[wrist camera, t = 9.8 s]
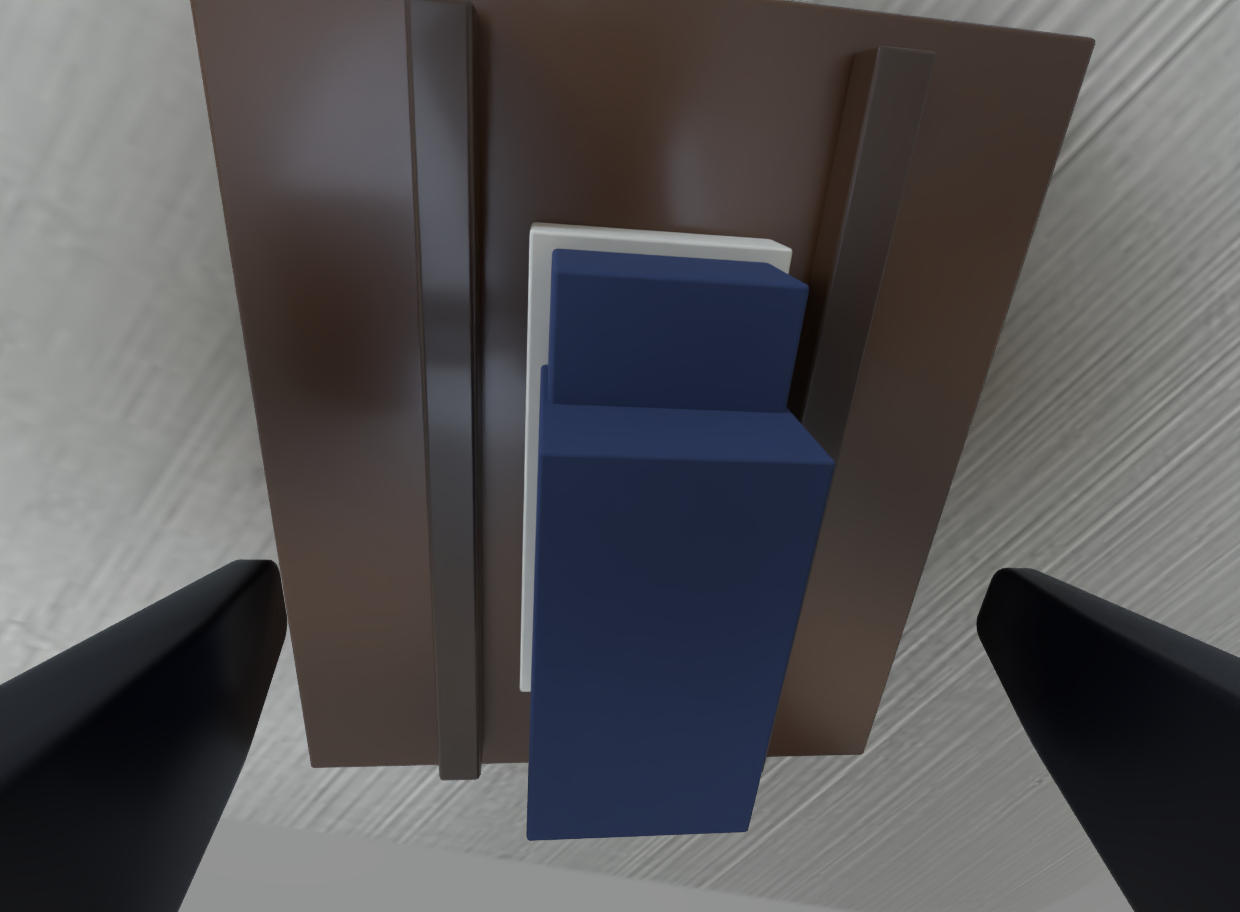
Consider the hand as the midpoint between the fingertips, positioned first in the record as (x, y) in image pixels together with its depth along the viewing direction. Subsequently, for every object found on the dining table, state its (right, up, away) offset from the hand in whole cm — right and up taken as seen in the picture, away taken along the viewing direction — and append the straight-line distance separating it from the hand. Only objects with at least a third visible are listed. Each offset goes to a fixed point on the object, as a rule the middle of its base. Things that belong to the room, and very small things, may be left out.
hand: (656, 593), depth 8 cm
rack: (0, +2, +5) cm, 5 cm away
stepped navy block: (0, +1, +3) cm, 4 cm away
